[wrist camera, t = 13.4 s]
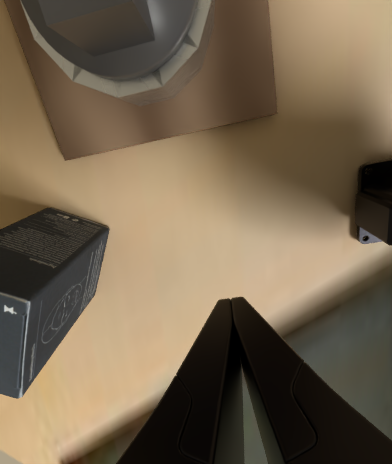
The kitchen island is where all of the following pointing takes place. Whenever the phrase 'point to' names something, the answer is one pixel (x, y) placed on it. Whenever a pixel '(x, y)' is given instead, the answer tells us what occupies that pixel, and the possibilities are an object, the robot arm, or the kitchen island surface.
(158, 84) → the toothed hollow cylinder
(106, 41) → the lens cap
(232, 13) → the stand
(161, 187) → the kitchen island surface
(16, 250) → the box
